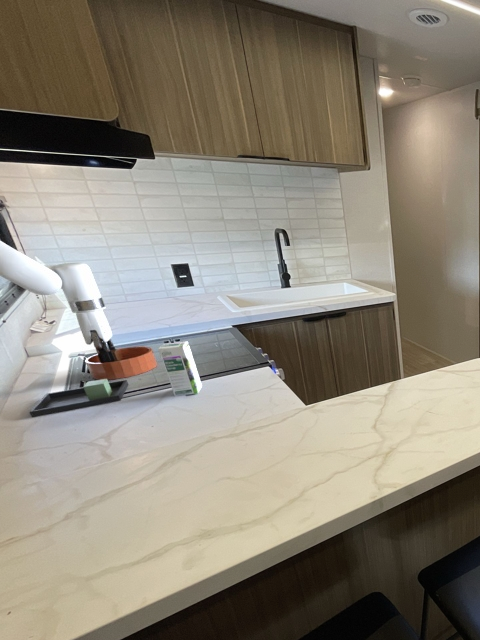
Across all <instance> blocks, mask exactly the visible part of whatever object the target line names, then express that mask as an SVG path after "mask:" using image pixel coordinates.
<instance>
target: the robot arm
mask: <svg viewBox="0 0 480 640" xmlns="http://www.w3.org/2000/svg"><path fill="white" fill-rule="evenodd" d="M0 277H2V278H3V279H5V280H7V281H9V282H11V283H13V284H14V285H17V286H19V287H20V288H22V289H24V290H26V291H28V292H30V293H32V294H34V295H38V296H51V295H54V294H57V293H58V292H60V290H62V292H63V295H64V297H65V299H66V301H67V303H68V307H69V308H70V310H71V313H74V314H75V315H76V319H77V323H78V326H79V329H80V332H81V334H82V337H83V340H84V342H85V344H86V345H89V346H90V345H92V344H93V346H94V349H95V351H96V354H98V356H99V358H100V361H101V363H107V362H115V358H114V356H113V354H112V351H110V350H113V349H116V346H115V345H114V343H113V341H112V338H113V332H112V329H111V326H110V323H109V320H108V319H107V316H106V314H105V312H104V310H105V309H107V307H106V304H105V302H104V299H103V297H102V294H101V292H100V289H99V286H98V284H97V282H96V280H95V277H94V274H93V272H92V270H91V267H90V266H89V265H88V264H87V263H84V262H67V263H60V264H52V265H51V264H49V265H48V264H47V265H46V264H42V263H40V262H38V261H37V260H35V259H33V258H31V257H29V256H28V255H26V254H25V253H22V252H20V251H19V250H17V249H15V248H14V247H11V246H10V245H8V244H6V242H4V241H2V240H0Z"/></svg>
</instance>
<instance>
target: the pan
mask: <svg viewBox="0 0 480 640" xmlns="http://www.w3.org/2000/svg"><path fill="white" fill-rule="evenodd" d="M108 383H109V385H110V388H111V390H112V393H111V395H110V397H104V398H99V399H93V400H89V399H88V397H87V395H86V392H85V390H84V388H83V387H84V386H83V387H77V388H71V389H66V390H65V389H64V390H61V391H54V392H47V393H45V394H44V396H42V397H41V398H40V399H39V401H38V402H37V403H36V404H35V406H33V407H32V409H30V410H29V414H30V416H31V418H36V417H42V416H47V415H52V414H53V415H54V414H58V413H63V412H67V411H73V410H79V409H84V408H88V407H94V406H100V405H105V404H110V403H114V402H120V401H122V399H123V397H124V395H125V393H126V391H127V390H128V389H127V388H128V387H129V382H128V380H127V379H124V380H118V381H113V382H108Z"/></svg>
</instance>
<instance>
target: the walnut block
mask: <svg viewBox="0 0 480 640" xmlns="http://www.w3.org/2000/svg"><path fill="white" fill-rule="evenodd" d="M117 349H118V348H115V349H113V350H110V351H112V354H113V356H114V358H115V361H121V357H120V355H119V352H118V350H117ZM97 356H98V355H97ZM98 359H99V361H100V358H99V356H98ZM100 363H101V361H100Z"/></svg>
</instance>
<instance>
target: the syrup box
mask: <svg viewBox="0 0 480 640" xmlns="http://www.w3.org/2000/svg"><path fill="white" fill-rule="evenodd" d="M158 353H159V356H160V358H161V361H162V364H163V366H164V369H165V372H166V376H167V378H168V380H169V383H170V387H171V389H172V393H173V396H174V397H177V396H184V395H186V396H190V395H198V394H199V393H200V391H201V389H202V387H203V383H202V381H201V378H200V375H199V372H198V369H197V365H196V363H195V360H194V357H193V353H192V350H191V347H190V344H189V341H188V340H186V341H178V342H169V343H168V342H167V343H163V344H161V345H160V346H159V347H158Z"/></svg>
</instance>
